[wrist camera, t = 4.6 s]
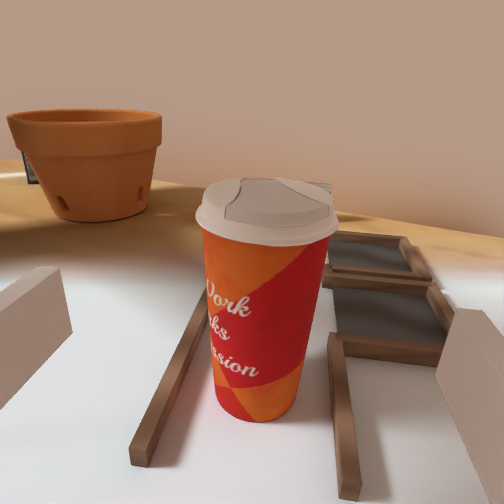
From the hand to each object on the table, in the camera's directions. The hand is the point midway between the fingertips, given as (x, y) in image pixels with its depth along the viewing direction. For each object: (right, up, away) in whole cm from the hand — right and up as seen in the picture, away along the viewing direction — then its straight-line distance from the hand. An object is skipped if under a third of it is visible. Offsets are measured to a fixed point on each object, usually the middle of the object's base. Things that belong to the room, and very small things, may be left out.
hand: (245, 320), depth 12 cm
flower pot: (-25, +9, +49) cm, 56 cm away
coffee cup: (0, -8, +15) cm, 17 cm away
